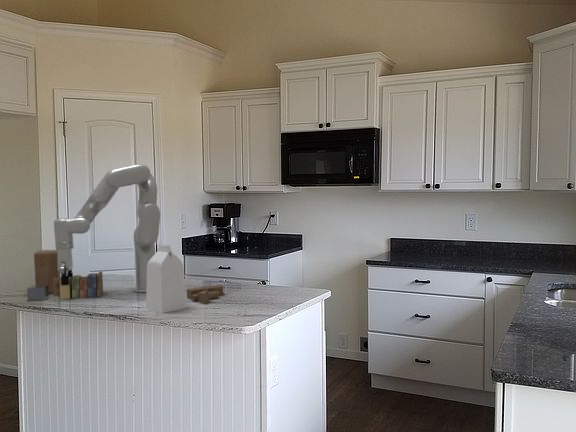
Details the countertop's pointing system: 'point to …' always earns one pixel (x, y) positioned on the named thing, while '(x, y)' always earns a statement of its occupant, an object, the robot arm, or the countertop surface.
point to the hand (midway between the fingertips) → (67, 283)
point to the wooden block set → (204, 293)
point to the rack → (83, 286)
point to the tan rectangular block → (66, 290)
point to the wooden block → (46, 268)
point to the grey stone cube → (38, 292)
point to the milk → (165, 282)
